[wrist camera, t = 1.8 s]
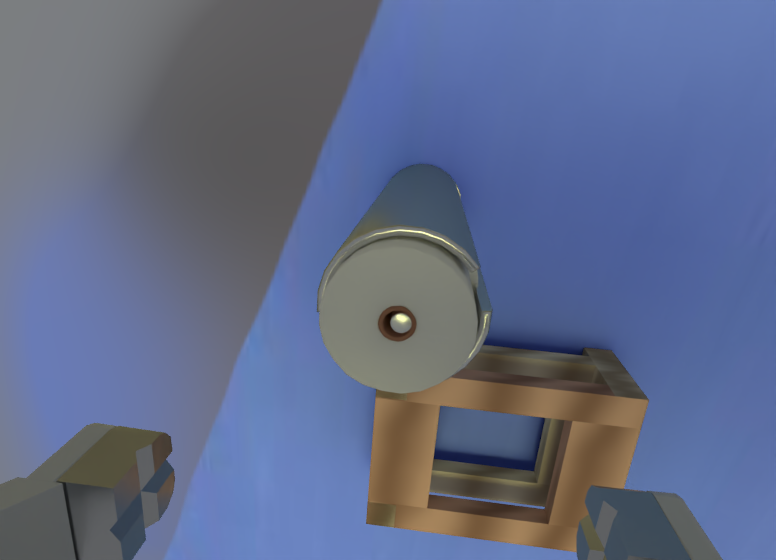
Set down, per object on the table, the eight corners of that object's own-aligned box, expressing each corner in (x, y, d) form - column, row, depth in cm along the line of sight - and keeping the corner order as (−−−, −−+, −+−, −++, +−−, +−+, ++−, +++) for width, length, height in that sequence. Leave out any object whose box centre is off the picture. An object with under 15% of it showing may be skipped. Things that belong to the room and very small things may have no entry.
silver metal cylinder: (449, 248, 41) (467, 422, 18) (376, 231, 41) (296, 381, 18) (470, 173, 39) (520, 257, 16) (392, 155, 39) (325, 211, 16)
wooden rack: (611, 350, 43) (649, 400, 35) (577, 486, 48) (604, 555, 40) (387, 326, 44) (377, 369, 37) (376, 461, 49) (366, 523, 41)
